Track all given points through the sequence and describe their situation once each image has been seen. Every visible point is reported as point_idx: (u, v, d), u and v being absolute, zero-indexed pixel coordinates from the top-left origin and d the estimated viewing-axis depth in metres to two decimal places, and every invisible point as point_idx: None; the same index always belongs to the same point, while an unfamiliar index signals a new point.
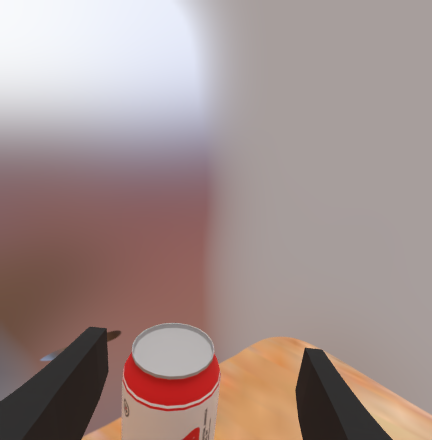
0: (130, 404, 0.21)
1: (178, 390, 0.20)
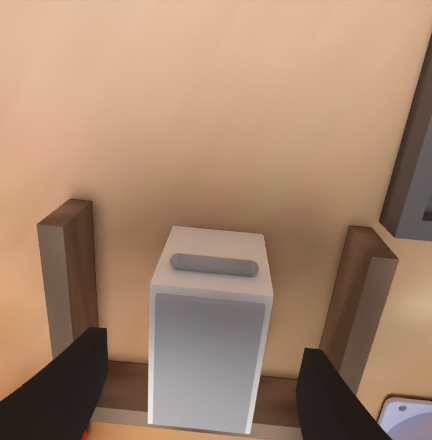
0: None
1: None
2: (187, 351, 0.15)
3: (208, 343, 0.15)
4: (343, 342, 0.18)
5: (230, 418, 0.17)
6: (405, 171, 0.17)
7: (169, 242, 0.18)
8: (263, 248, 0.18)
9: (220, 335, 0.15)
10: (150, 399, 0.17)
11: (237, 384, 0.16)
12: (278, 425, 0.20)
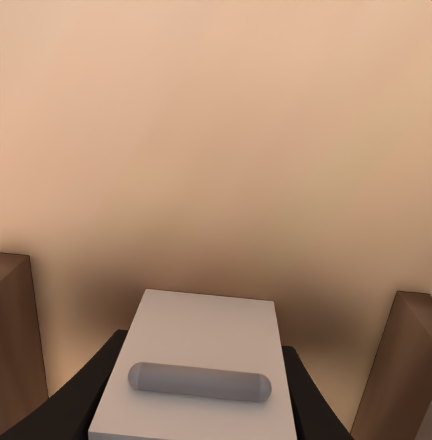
0: None
1: None
2: None
3: None
4: None
5: None
6: None
7: (135, 326, 0.12)
8: (275, 332, 0.12)
9: None
10: None
11: None
12: None
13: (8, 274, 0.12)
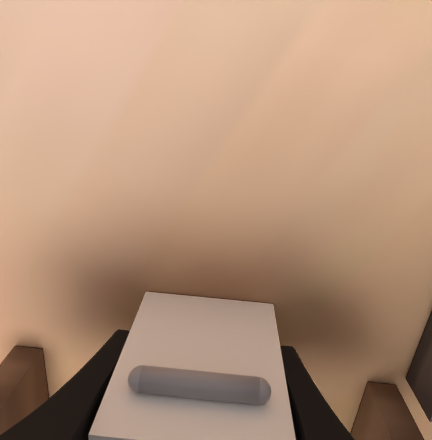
0: None
1: None
2: None
3: None
4: None
5: None
6: None
7: (135, 329, 0.12)
8: (275, 335, 0.12)
9: None
10: None
11: None
12: None
13: (25, 373, 0.14)
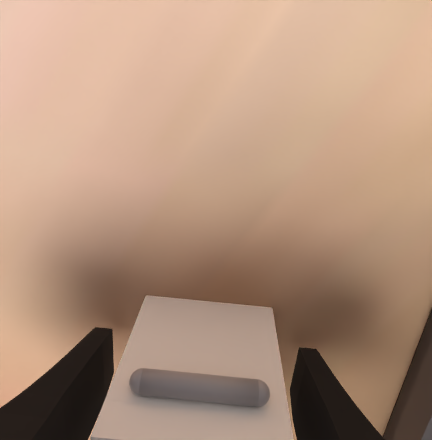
0: None
1: None
2: None
3: None
4: None
5: None
6: None
7: (136, 331, 0.12)
8: (274, 338, 0.12)
9: None
10: None
11: None
12: None
13: None
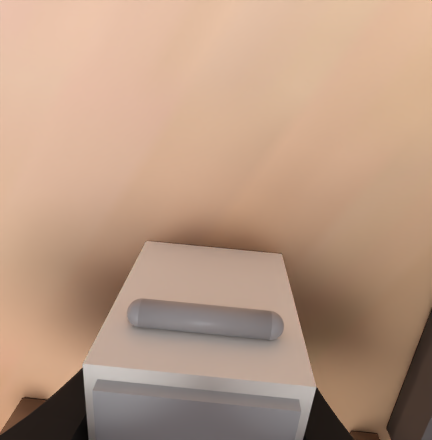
0: None
1: None
2: None
3: None
4: None
5: None
6: (419, 401, 0.14)
7: (135, 272, 0.11)
8: (285, 280, 0.11)
9: None
10: None
11: None
12: None
13: None
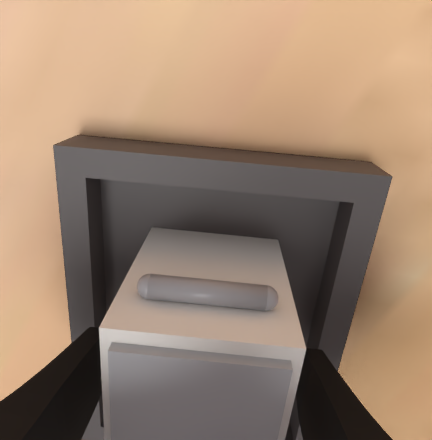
0: None
1: None
2: (164, 432, 0.10)
3: (197, 421, 0.09)
4: None
5: None
6: None
7: (142, 253, 0.12)
8: (280, 262, 0.12)
9: (217, 410, 0.09)
10: None
11: None
12: None
13: None
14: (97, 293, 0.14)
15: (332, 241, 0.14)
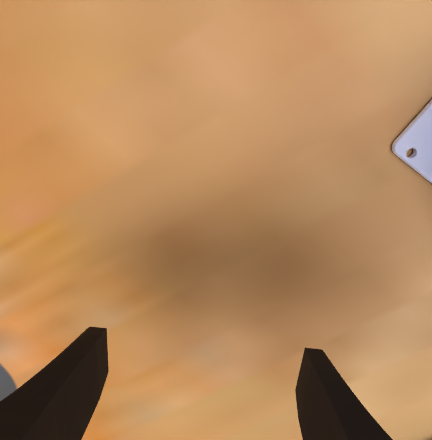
0: None
1: None
2: None
3: None
4: None
5: None
6: None
7: None
8: None
9: None
10: None
11: None
12: None
13: None
14: None
15: None
